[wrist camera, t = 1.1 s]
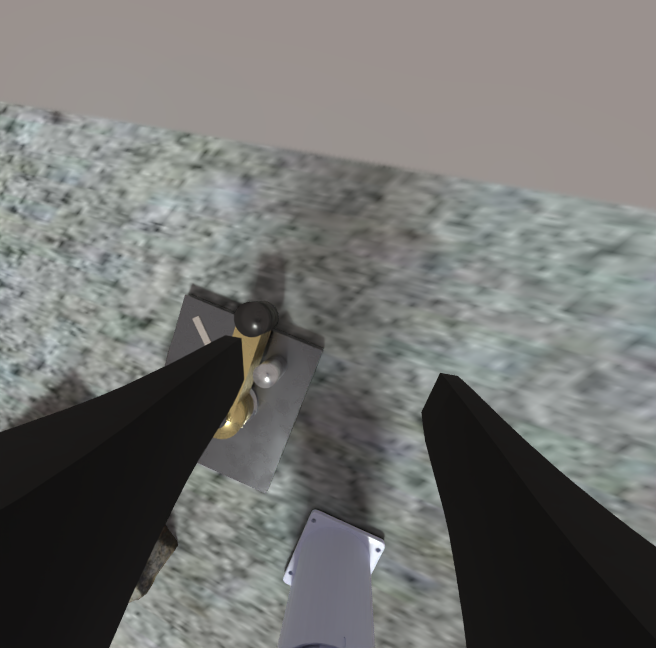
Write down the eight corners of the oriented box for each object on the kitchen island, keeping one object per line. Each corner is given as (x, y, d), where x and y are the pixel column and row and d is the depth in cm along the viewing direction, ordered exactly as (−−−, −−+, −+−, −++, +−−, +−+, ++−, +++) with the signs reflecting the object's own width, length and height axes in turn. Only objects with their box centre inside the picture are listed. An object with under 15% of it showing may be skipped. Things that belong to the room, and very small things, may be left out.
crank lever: (246, 430, 23) (230, 449, 20) (209, 413, 23) (188, 430, 20) (289, 310, 21) (279, 312, 18) (248, 293, 21) (231, 293, 19)
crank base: (269, 485, 25) (253, 521, 21) (152, 432, 26) (116, 457, 22) (323, 348, 23) (317, 359, 19) (192, 294, 24) (159, 294, 20)
